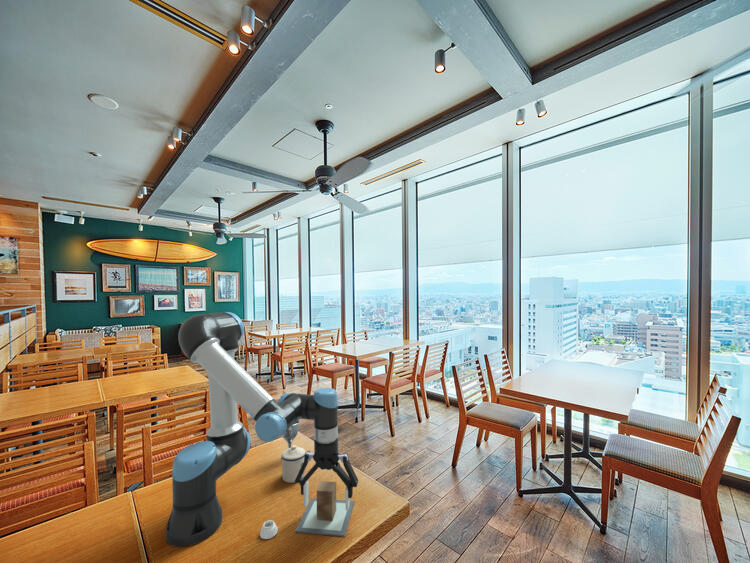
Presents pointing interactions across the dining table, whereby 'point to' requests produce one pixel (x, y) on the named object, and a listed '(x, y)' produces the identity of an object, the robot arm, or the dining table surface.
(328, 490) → the block
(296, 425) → the silver goblet
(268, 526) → the lidless jar
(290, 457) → the teacup with lid
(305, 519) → the coaster
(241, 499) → the dining table surface
